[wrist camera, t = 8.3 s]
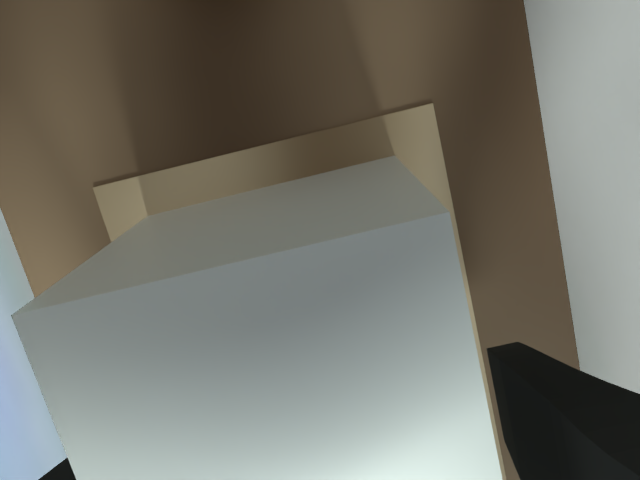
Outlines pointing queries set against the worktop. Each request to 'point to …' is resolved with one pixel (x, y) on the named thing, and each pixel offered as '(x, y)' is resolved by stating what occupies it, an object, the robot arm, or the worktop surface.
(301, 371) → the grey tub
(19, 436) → the worktop surface
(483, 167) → the walnut board
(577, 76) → the worktop surface
